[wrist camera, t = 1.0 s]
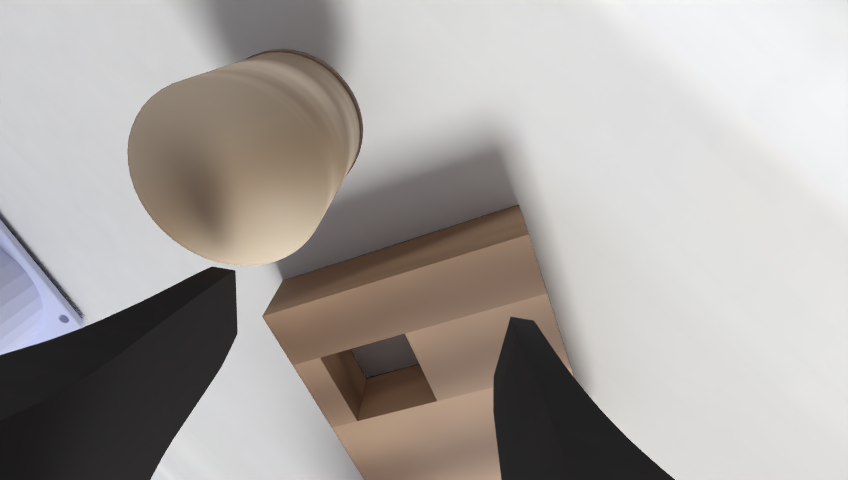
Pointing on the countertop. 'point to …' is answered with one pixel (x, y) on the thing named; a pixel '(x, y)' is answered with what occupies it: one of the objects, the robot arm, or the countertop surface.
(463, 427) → the board
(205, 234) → the peg
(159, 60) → the countertop surface
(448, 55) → the countertop surface
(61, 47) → the countertop surface
